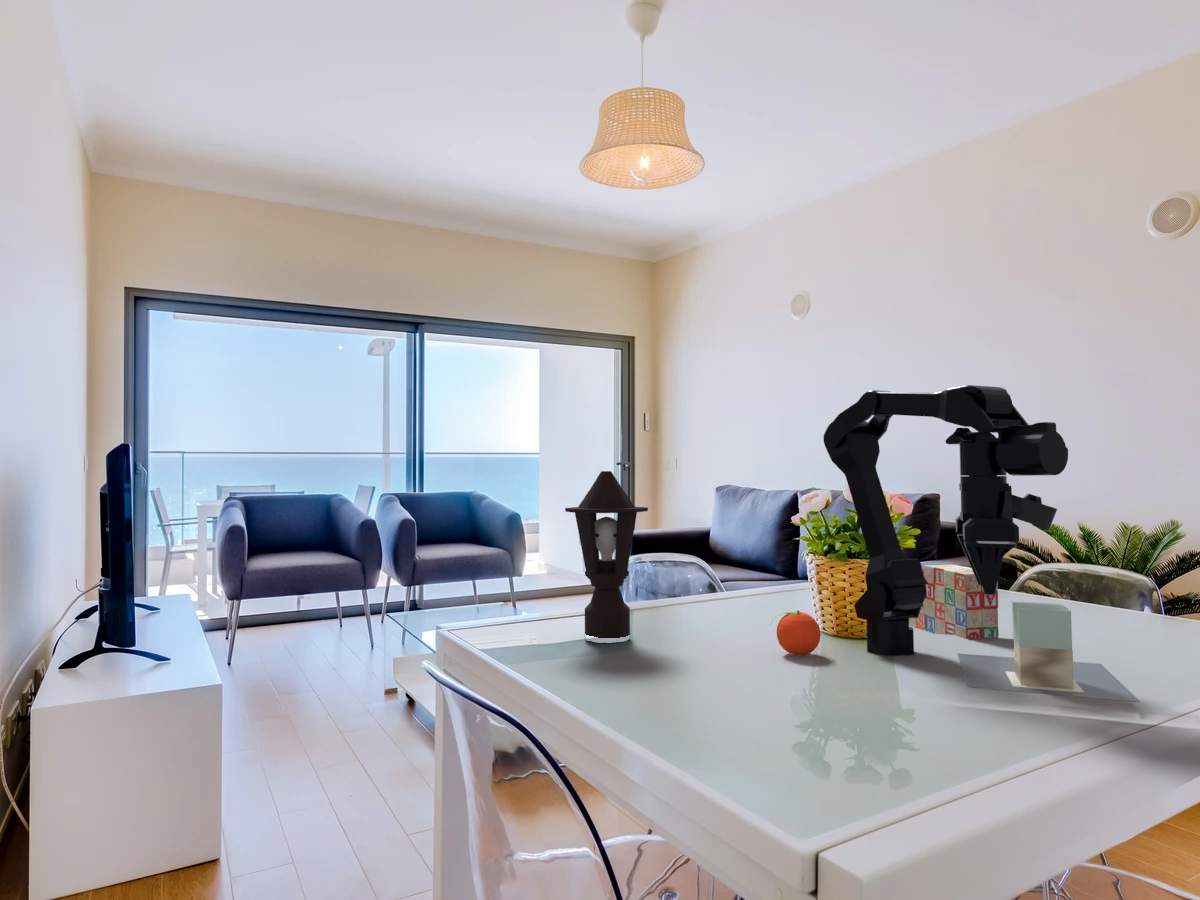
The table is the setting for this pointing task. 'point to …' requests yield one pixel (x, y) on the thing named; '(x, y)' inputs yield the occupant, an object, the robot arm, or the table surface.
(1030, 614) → the sage block
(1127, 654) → the table surface
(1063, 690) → the plate
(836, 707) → the table surface
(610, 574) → the lantern
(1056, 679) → the maple block
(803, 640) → the clementine
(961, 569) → the stack of blocks
